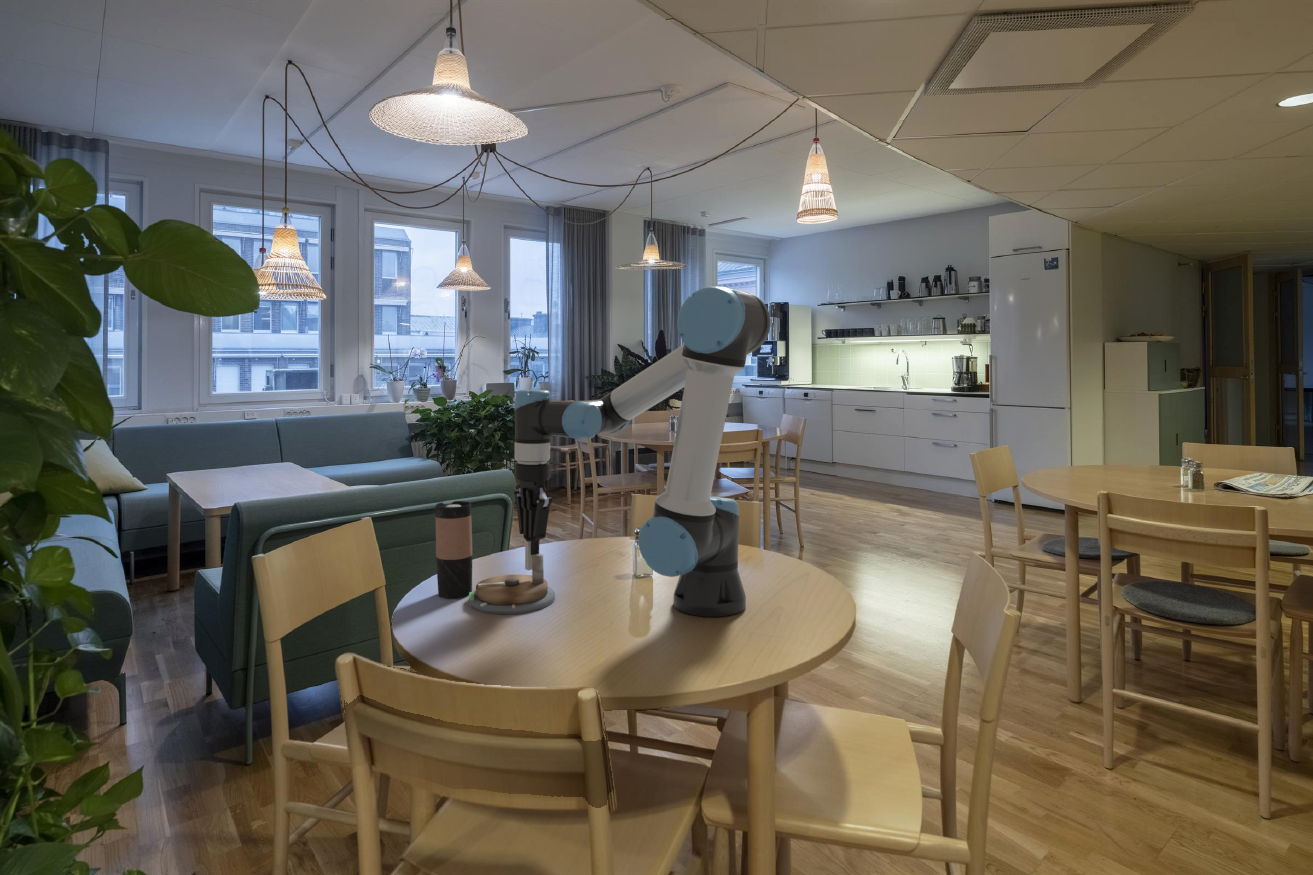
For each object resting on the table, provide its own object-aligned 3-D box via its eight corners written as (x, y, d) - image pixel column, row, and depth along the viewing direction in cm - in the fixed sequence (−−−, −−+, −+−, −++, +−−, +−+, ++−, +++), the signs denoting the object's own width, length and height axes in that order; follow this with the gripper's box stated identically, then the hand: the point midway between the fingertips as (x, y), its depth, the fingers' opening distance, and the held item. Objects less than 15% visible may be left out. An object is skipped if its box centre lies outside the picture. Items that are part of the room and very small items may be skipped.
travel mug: (463, 600, 157) (461, 508, 155) (430, 598, 158) (428, 506, 156) (479, 589, 164) (477, 501, 162) (447, 587, 166) (445, 500, 164)
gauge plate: (569, 593, 162) (569, 585, 162) (525, 619, 145) (525, 610, 145) (500, 584, 168) (500, 576, 168) (450, 607, 152) (450, 599, 152)
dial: (543, 581, 166) (543, 546, 165) (551, 601, 151) (551, 563, 151) (475, 585, 162) (474, 550, 161) (476, 607, 147) (475, 568, 147)
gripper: (563, 464, 155) (562, 572, 157) (533, 456, 165) (533, 559, 167) (531, 466, 150) (530, 578, 153) (503, 459, 160) (503, 564, 163)
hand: (532, 568), depth 160 cm, fingers closed
